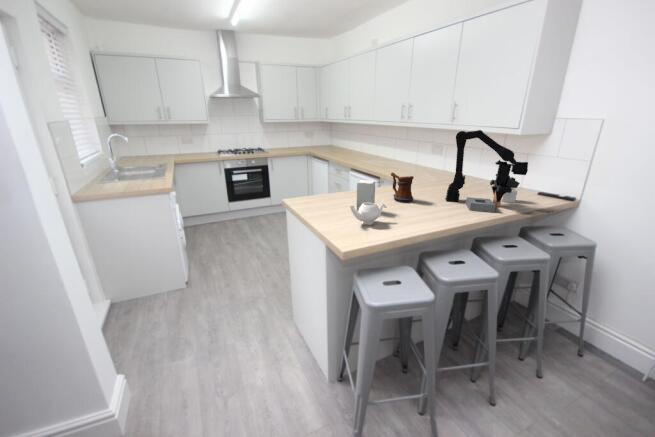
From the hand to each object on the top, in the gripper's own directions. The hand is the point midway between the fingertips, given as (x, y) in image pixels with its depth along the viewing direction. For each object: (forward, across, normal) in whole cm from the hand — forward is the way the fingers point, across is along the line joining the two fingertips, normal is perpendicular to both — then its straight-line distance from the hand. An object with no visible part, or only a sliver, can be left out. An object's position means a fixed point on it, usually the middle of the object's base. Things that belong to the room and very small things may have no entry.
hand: (497, 200), depth 163 cm
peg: (+3, 0, 0) cm, 3 cm away
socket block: (+3, -7, +10) cm, 13 cm away
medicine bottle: (+3, +14, -9) cm, 17 cm away
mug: (+3, -2, +53) cm, 53 cm away
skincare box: (+3, -30, +70) cm, 76 cm away
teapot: (+3, -48, +66) cm, 82 cm away
